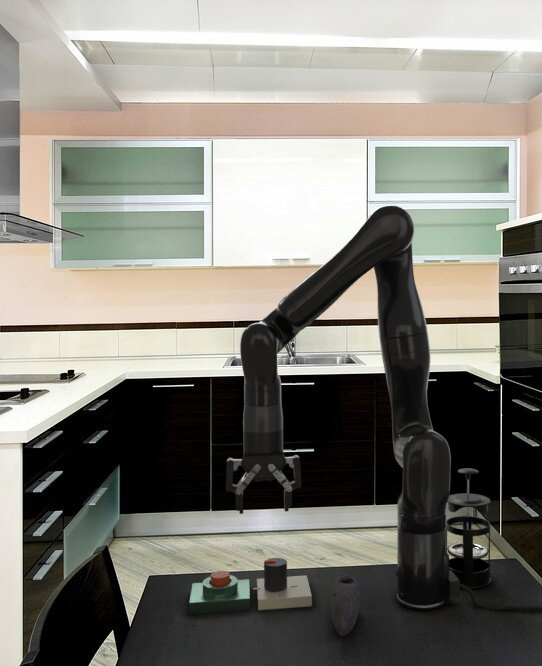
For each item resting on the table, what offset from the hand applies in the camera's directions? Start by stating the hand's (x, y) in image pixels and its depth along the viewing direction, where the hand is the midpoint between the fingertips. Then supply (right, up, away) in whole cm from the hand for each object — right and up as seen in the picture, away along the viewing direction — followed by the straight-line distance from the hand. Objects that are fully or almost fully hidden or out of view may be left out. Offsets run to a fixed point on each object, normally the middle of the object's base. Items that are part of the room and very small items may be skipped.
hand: (264, 511), depth 129 cm
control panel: (+3, -17, +2) cm, 18 cm away
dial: (+2, -15, +2) cm, 15 cm away
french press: (+41, -17, +10) cm, 45 cm away
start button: (-8, -14, 0) cm, 16 cm away
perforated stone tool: (+15, -18, -9) cm, 25 cm away
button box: (-8, -17, 0) cm, 19 cm away
